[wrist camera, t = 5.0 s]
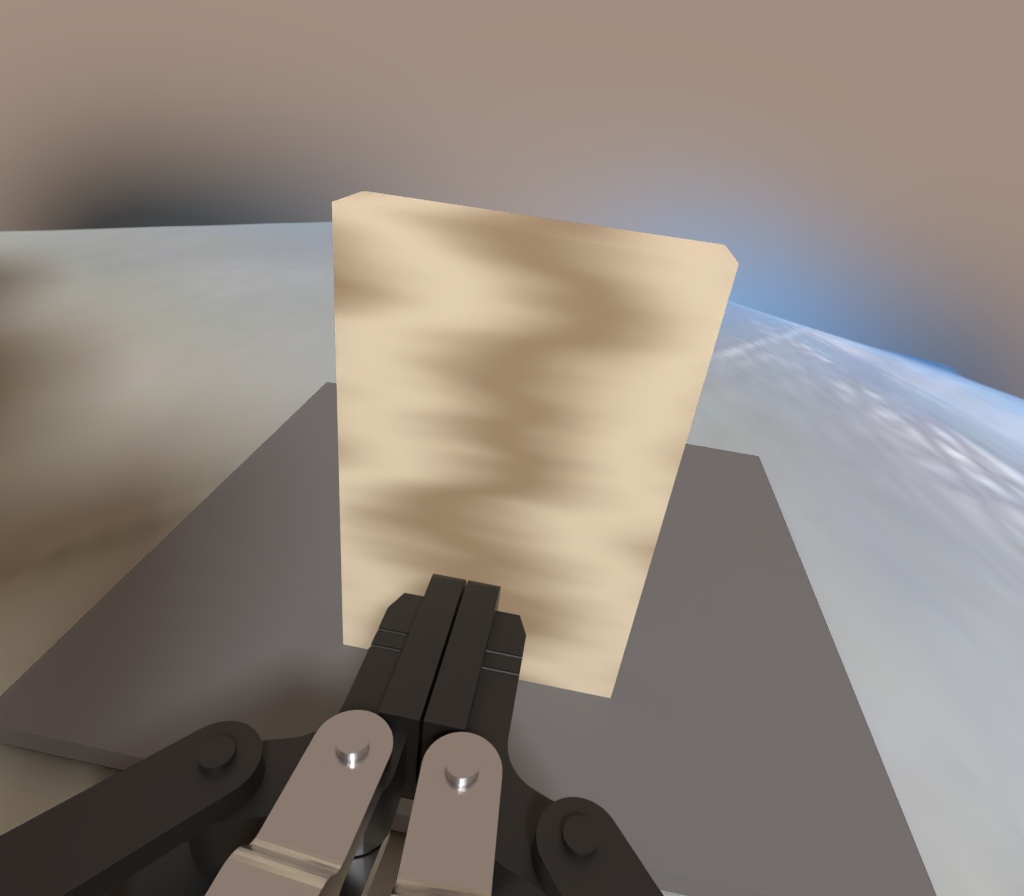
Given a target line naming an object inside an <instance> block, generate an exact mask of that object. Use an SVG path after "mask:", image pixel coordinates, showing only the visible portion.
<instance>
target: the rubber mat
mask: <svg viewBox="0 0 1024 896" xmlns="http://www.w3.org/2000/svg"><path fill="white" fill-rule="evenodd" d="M368 650H369V649H364V648H359V647H354V646H349V645H344V644H343V618H342V578H341V538H340V498H339V459H338V419H337V384H335V383H330V382H327V383H326V384H325V385H323V386H322V387H321V388H320V389H319V390H318V391H317V392H316V393H315V394H314V395H313V396H312V397H311V398H310V399H309V400H308V401H307V402H306V403H305V404H304V405H303V406H302V407H301V408H300V409H299V410H298V411H296V412H295V413H294V414H293V415H292V416H291V417H290V418H289V419H288V420H287V421H286V422H285V423H284V424H283V425H282V426H281V427H280V428H279V429H278V430H277V431H276V432H275V433H274V434H273V435H272V436H271V437H270V438H268V439H267V440H266V441H265V442H264V443H263V444H262V445H261V446H260V447H259V448H258V449H257V450H256V451H255V452H254V453H253V454H252V455H251V456H250V457H249V458H248V459H247V460H246V461H245V462H244V463H243V464H241V465H240V466H239V467H238V468H237V469H236V470H235V471H234V472H233V473H232V474H231V475H230V476H229V477H228V478H227V479H226V480H225V481H224V482H223V483H222V484H221V485H220V486H219V487H218V488H217V489H216V490H215V491H213V492H212V493H211V494H210V495H209V496H208V497H207V498H206V499H205V500H204V501H203V502H202V503H201V504H200V505H199V506H198V507H197V508H196V509H195V510H194V511H193V512H192V513H191V514H190V515H189V516H188V517H186V518H185V519H184V520H183V521H182V522H181V523H180V524H179V525H178V526H177V527H176V528H175V529H174V530H173V531H172V532H171V533H170V534H169V535H168V536H167V537H166V538H165V539H164V540H163V541H162V542H161V543H159V544H158V545H157V546H156V547H155V548H154V549H153V550H152V551H151V552H150V553H149V554H148V555H147V556H146V557H145V558H144V559H143V560H142V561H141V562H140V563H139V564H138V565H137V566H136V567H135V568H134V569H133V570H131V571H130V572H129V573H128V574H127V575H126V576H125V577H124V578H123V579H122V580H121V581H120V582H119V583H118V584H117V585H116V586H115V587H114V588H113V589H112V590H111V591H110V592H109V593H108V594H107V595H106V596H104V597H103V598H102V599H101V600H100V601H99V602H98V603H97V604H96V605H95V606H94V607H93V608H92V609H91V610H90V611H89V612H88V613H87V614H86V615H85V616H84V617H83V618H82V619H81V620H80V621H79V622H78V623H76V624H75V625H74V626H73V627H72V628H71V629H70V630H69V631H68V632H67V633H66V634H65V635H64V636H63V637H62V638H61V639H60V640H59V641H58V642H57V643H56V644H55V645H54V646H53V647H52V648H51V649H49V650H48V651H47V652H46V653H45V654H44V655H43V656H42V657H41V658H40V659H39V660H38V661H37V662H36V663H35V664H34V665H33V666H32V667H31V668H30V669H29V670H28V671H27V672H26V673H25V674H24V675H23V676H21V677H20V678H19V679H18V680H17V681H16V682H15V683H14V684H13V685H12V686H11V687H10V688H9V689H8V690H7V691H6V692H5V693H4V694H3V695H2V696H1V697H0V743H2V744H7V745H11V746H16V747H20V748H25V749H29V750H34V751H38V752H43V753H47V754H52V755H56V756H61V757H65V758H70V759H74V760H79V761H83V762H88V763H92V764H97V765H101V766H106V767H111V768H115V769H120V770H124V769H126V768H128V767H130V766H132V765H134V764H136V763H137V762H139V761H141V760H143V759H145V758H147V757H149V756H151V755H152V754H154V753H156V752H158V751H160V750H162V749H164V748H165V747H167V746H169V745H171V744H173V743H175V742H177V741H179V740H180V739H182V738H184V737H186V736H188V735H190V734H192V733H193V732H195V731H197V730H199V729H201V728H203V727H205V726H207V725H210V724H213V723H216V722H222V721H238V722H242V723H245V724H247V725H249V726H251V727H252V728H253V729H255V730H256V732H257V733H258V734H259V736H260V738H261V741H264V740H274V739H284V738H293V737H300V736H304V735H307V734H310V733H312V732H315V731H317V730H318V729H319V728H320V727H321V726H322V725H323V724H324V723H325V722H326V721H327V720H328V719H330V718H331V717H333V716H335V715H337V714H338V713H339V711H340V710H341V708H342V706H343V704H344V702H345V700H346V698H347V695H348V693H349V691H350V689H351V687H352V685H353V682H354V680H355V678H356V676H357V674H358V671H359V669H360V667H361V665H362V663H363V660H364V658H365V656H366V654H367V652H368ZM508 754H509V758H510V761H511V764H512V766H513V768H514V770H515V771H516V773H517V774H518V776H519V777H520V778H521V779H522V780H523V781H524V782H525V783H526V784H527V785H528V786H530V787H531V788H533V789H534V790H536V791H537V792H539V793H541V794H542V795H544V796H546V797H547V798H549V799H551V800H552V801H554V802H555V801H556V800H559V799H561V798H566V797H580V798H585V799H587V800H590V801H592V802H594V803H596V804H598V805H599V806H600V807H602V808H603V809H604V810H605V811H606V812H607V813H608V814H609V815H610V816H611V817H612V819H613V820H614V821H615V823H616V824H617V826H618V827H619V829H620V830H621V832H622V834H623V835H624V837H625V838H626V840H627V841H628V843H629V844H630V846H631V847H632V849H633V850H634V852H635V853H636V855H637V856H638V858H639V859H640V861H641V862H642V864H643V865H644V867H645V868H646V870H647V871H648V873H649V874H650V876H651V877H652V879H653V880H654V882H655V883H656V885H657V887H658V888H659V889H661V890H665V891H670V892H674V893H679V894H683V895H688V896H936V893H935V891H934V888H933V886H932V883H931V881H930V878H929V876H928V873H927V871H926V868H925V866H924V863H923V861H922V858H921V856H920V854H919V851H918V849H917V846H916V844H915V841H914V839H913V836H912V834H911V831H910V829H909V826H908V824H907V821H906V819H905V816H904V814H903V812H902V809H901V807H900V804H899V802H898V799H897V797H896V794H895V792H894V789H893V787H892V784H891V782H890V779H889V777H888V774H887V772H886V770H885V767H884V765H883V762H882V760H881V757H880V755H879V752H878V750H877V747H876V745H875V742H874V740H873V737H872V735H871V732H870V730H869V728H868V725H867V723H866V720H865V718H864V715H863V713H862V710H861V708H860V705H859V703H858V700H857V698H856V695H855V693H854V690H853V688H852V685H851V683H850V681H849V678H848V676H847V673H846V671H845V668H844V666H843V663H842V661H841V658H840V656H839V653H838V651H837V648H836V646H835V643H834V641H833V639H832V636H831V634H830V631H829V629H828V626H827V624H826V621H825V619H824V616H823V614H822V611H821V609H820V606H819V604H818V601H817V599H816V597H815V594H814V592H813V589H812V587H811V584H810V582H809V579H808V577H807V574H806V572H805V569H804V567H803V564H802V562H801V559H800V557H799V555H798V552H797V550H796V547H795V545H794V542H793V540H792V537H791V535H790V532H789V530H788V527H787V525H786V522H785V520H784V517H783V515H782V513H781V510H780V508H779V505H778V503H777V500H776V498H775V495H774V493H773V490H772V488H771V485H770V483H769V480H768V478H767V475H766V473H765V470H764V468H763V466H762V463H761V461H760V458H759V456H754V455H748V454H742V453H736V452H731V451H725V450H719V449H713V448H707V447H701V446H696V445H690V444H685V448H684V451H683V454H682V458H681V461H680V465H679V468H678V471H677V475H676V478H675V482H674V485H673V488H672V492H671V495H670V499H669V502H668V505H667V509H666V512H665V515H664V519H663V522H662V526H661V529H660V532H659V536H658V539H657V543H656V546H655V549H654V553H653V556H652V559H651V563H650V566H649V570H648V573H647V576H646V580H645V583H644V587H643V590H642V593H641V597H640V600H639V604H638V607H637V610H636V614H635V617H634V620H633V624H632V627H631V631H630V634H629V637H628V641H627V644H626V648H625V651H624V654H623V658H622V661H621V664H620V668H619V671H618V675H617V678H616V681H615V685H614V688H613V692H612V695H611V698H607V697H602V696H597V695H592V694H587V693H582V692H577V691H572V690H567V689H562V688H558V687H553V686H548V685H543V684H538V683H533V682H528V681H523V680H518V686H517V692H516V698H515V703H514V709H513V715H512V721H511V726H510V732H509V738H508ZM413 802H414V800H410V799H406V798H401V799H400V802H399V805H398V809H397V812H396V815H395V818H394V821H393V825H392V827H391V830H395V831H399V832H404V833H407V830H408V826H409V821H410V816H411V812H412V807H413Z"/></svg>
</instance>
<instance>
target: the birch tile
mask: <svg viewBox="0 0 1024 896" xmlns="http://www.w3.org/2000/svg"><path fill="white" fill-rule="evenodd" d="M332 220H333V260H334V300H335V340H336V379H337V419H338V459H339V498H340V538H341V578H342V618H343V644H344V645H349V646H354V647H359V648H364V649H369V647H371V643H372V641H373V639H374V636H375V634H376V632H377V631H378V629H379V625H380V623H381V621H382V619H383V617H384V615H385V612H386V610H387V608H388V607H389V606H390V605H391V604H392V603H394V602H395V601H396V600H397V599H398V598H399V597H400V596H401V595H403V594H404V593H409V594H414V595H419V596H424V595H425V592H426V590H427V587H428V584H429V582H430V579H431V577H432V575H433V574H439V575H444V576H449V577H455V578H460V579H465V580H466V585H467V582H468V580H471V581H476V582H481V583H486V584H491V585H496V586H501V591H500V598H499V605H498V611H501V612H506V613H511V614H516V615H520V617H521V620H522V624H523V627H524V630H525V633H526V640H525V646H524V651H523V657H522V663H521V669H520V674H519V680H523V681H528V682H533V683H538V684H543V685H548V686H553V687H558V688H562V689H567V690H572V691H577V692H582V693H587V694H592V695H597V696H602V697H607V698H611V695H612V692H613V688H614V685H615V681H616V678H617V675H618V671H619V668H620V664H621V661H622V658H623V654H624V651H625V648H626V644H627V641H628V637H629V634H630V631H631V627H632V624H633V620H634V617H635V614H636V610H637V607H638V604H639V600H640V597H641V593H642V590H643V587H644V583H645V580H646V576H647V573H648V570H649V566H650V563H651V559H652V556H653V553H654V549H655V546H656V543H657V539H658V536H659V532H660V529H661V526H662V522H663V519H664V515H665V512H666V509H667V505H668V502H669V499H670V495H671V492H672V488H673V485H674V482H675V478H676V475H677V471H678V468H679V465H680V461H681V458H682V454H683V451H684V448H685V444H686V441H687V438H688V434H689V431H690V427H691V424H692V421H693V417H694V414H695V410H696V407H697V404H698V400H699V397H700V394H701V390H702V387H703V383H704V380H705V377H706V373H707V370H708V366H709V363H710V360H711V356H712V353H713V350H714V346H715V343H716V339H717V336H718V333H719V329H720V326H721V322H722V319H723V316H724V312H725V309H726V305H727V302H728V299H729V295H730V292H731V289H732V285H733V282H734V278H735V275H736V271H737V268H738V265H739V263H738V262H737V260H736V259H735V258H734V256H733V255H732V254H731V253H730V251H729V250H728V249H727V247H726V246H725V245H721V244H715V243H708V242H701V241H694V240H688V239H681V238H675V237H667V236H661V235H655V234H648V233H641V232H634V231H628V230H621V229H614V228H608V227H601V226H594V225H588V224H581V223H574V222H567V221H560V220H553V219H547V218H540V217H533V216H527V215H520V214H514V213H507V212H500V211H493V210H487V209H481V208H474V207H467V206H461V205H454V204H447V203H440V202H434V201H427V200H420V199H414V198H406V197H400V196H394V195H387V194H380V193H373V192H367V191H362V192H359V193H357V194H353V195H351V196H348V197H345V198H342V199H339V200H336V201H333V202H332Z"/></svg>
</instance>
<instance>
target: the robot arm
mask: <svg viewBox="0 0 1024 896" xmlns="http://www.w3.org/2000/svg"><path fill="white" fill-rule="evenodd" d="M500 591H501V586H496V585H491V584H486V583H481V582H476V581H471V580H468V582H467V585H466V580H465V579H460V578H455V577H449V576H444V575H439V574H433V575H432V577H431V579H430V582H429V584H428V587H427V590H426V592H425V595H424V596H419V595H414V594H409V593H404V594H403V595H401V596H400V597H399V598H398V599H397V600H396V601H395V602H394V603H392V604H391V605H390V606H389V607H388V608H387V610H386V612H385V615H384V617H383V619H382V621H381V623H380V625H379V629H378V631H377V632H376V634H375V636H374V639H373V641H372V643H371V647H369V650H368V652H367V654H366V656H365V658H364V660H363V663H362V665H361V667H360V669H359V671H358V674H357V676H356V678H355V680H354V682H353V685H352V687H351V689H350V691H349V693H348V695H347V698H346V700H345V702H344V704H343V706H342V708H341V710H340V711H339V713H338V714H337V715H335V716H333V717H331V718H330V719H328V720H327V721H326V722H325V723H324V724H323V725H322V726H321V727H320V728H319V729H318V730H317V731H315V732H312V733H310V734H307V735H304V736H300V737H293V738H284V739H274V740H264V741H261V738H260V736H259V734H258V733H257V732H256V730H255V729H253V728H252V727H251V726H249V725H247V724H245V723H242V722H238V721H222V722H216V723H213V724H210V725H207V726H205V727H203V728H201V729H199V730H197V731H195V732H193V733H192V734H190V735H188V736H186V737H184V738H182V739H180V740H179V741H177V742H175V743H173V744H171V745H169V746H167V747H165V748H164V749H162V750H160V751H158V752H156V753H154V754H152V755H151V756H149V757H147V758H145V759H143V760H141V761H139V762H137V763H136V764H134V765H132V766H130V767H128V768H126V769H124V770H123V771H121V772H119V773H117V774H115V775H113V776H111V777H109V778H108V779H106V780H104V781H102V782H100V783H98V784H96V785H95V786H93V787H91V788H89V789H87V790H85V791H83V792H81V793H80V794H78V795H76V796H74V797H72V798H70V799H68V800H67V801H65V802H63V803H61V804H59V805H57V806H55V807H53V808H52V809H50V810H48V811H46V812H44V813H42V814H40V815H39V816H37V817H35V818H33V819H31V820H29V821H27V822H25V823H24V824H22V825H20V826H18V827H16V828H14V829H12V830H11V831H9V832H7V833H5V834H3V835H1V836H0V896H367V895H368V892H369V889H370V887H371V884H372V882H373V879H374V877H375V874H376V871H377V869H378V866H379V864H380V861H381V859H382V856H383V853H384V851H385V848H386V846H387V843H388V840H389V835H390V830H391V827H392V825H393V821H394V818H395V815H396V812H397V809H398V805H399V802H400V799H401V798H406V799H410V800H414V802H413V807H412V812H411V816H410V821H409V826H408V830H407V835H406V840H405V844H404V849H403V854H402V858H401V863H400V868H399V872H398V877H397V881H396V884H395V887H394V889H393V890H392V893H391V896H663V894H662V893H661V891H660V890H659V888H658V887H657V885H656V883H655V882H654V880H653V879H652V877H651V876H650V874H649V873H648V871H647V870H646V868H645V867H644V865H643V864H642V862H641V861H640V859H639V858H638V856H637V855H636V853H635V852H634V850H633V849H632V847H631V846H630V844H629V843H628V841H627V840H626V838H625V837H624V835H623V834H622V832H621V830H620V829H619V827H618V826H617V824H616V823H615V821H614V820H613V819H612V817H611V816H610V815H609V814H608V813H607V812H606V811H605V810H604V809H603V808H602V807H600V806H599V805H598V804H596V803H594V802H592V801H590V800H587V799H585V798H580V797H566V798H561V799H559V800H556V801H555V802H554V801H552V800H551V799H549V798H547V797H546V796H544V795H542V794H541V793H539V792H537V791H536V790H534V789H533V788H531V787H530V786H528V785H527V784H526V783H525V782H524V781H523V780H522V779H521V778H520V777H519V776H518V774H517V773H516V771H515V770H514V768H513V766H512V764H511V761H510V758H509V754H508V738H509V732H510V726H511V721H512V715H513V709H514V703H515V698H516V692H517V686H518V680H519V674H520V669H521V663H522V657H523V651H524V646H525V640H526V633H525V630H524V627H523V624H522V620H521V617H520V615H516V614H511V613H506V612H501V611H498V605H499V598H500Z"/></svg>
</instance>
